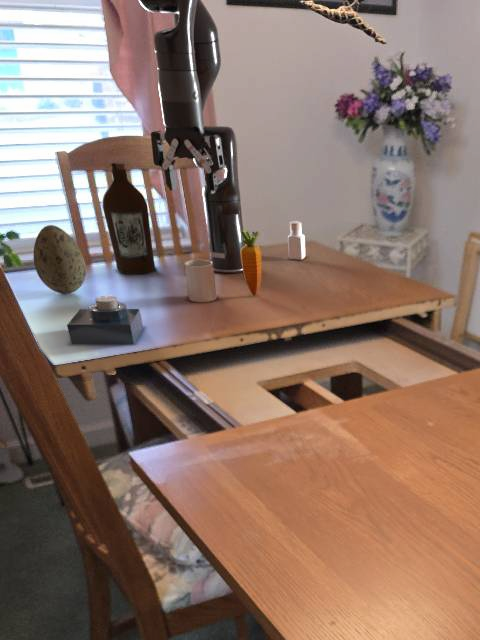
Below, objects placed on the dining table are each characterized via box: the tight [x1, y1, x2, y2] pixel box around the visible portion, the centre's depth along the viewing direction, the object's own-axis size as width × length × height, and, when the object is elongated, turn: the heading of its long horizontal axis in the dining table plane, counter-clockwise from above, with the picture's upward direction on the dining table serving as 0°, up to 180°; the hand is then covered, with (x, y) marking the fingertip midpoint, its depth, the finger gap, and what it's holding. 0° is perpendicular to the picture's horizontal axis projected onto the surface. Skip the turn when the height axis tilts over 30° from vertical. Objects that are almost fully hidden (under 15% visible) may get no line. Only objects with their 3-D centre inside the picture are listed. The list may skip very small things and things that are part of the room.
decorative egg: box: [33, 224, 87, 295], centre depth 163 cm, size 11×11×15 cm
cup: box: [183, 259, 218, 303], centre depth 166 cm, size 6×6×8 cm
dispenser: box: [66, 301, 144, 345], centre depth 143 cm, size 12×10×6 cm
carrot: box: [240, 229, 263, 297], centre depth 166 cm, size 5×5×15 cm
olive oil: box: [102, 161, 156, 275], centre depth 179 cm, size 11×11×25 cm
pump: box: [94, 295, 118, 310], centre depth 141 cm, size 4×4×2 cm
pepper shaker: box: [287, 220, 306, 261], centre depth 198 cm, size 4×4×10 cm
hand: (192, 191), depth 144 cm, fingers open, 8 cm apart
